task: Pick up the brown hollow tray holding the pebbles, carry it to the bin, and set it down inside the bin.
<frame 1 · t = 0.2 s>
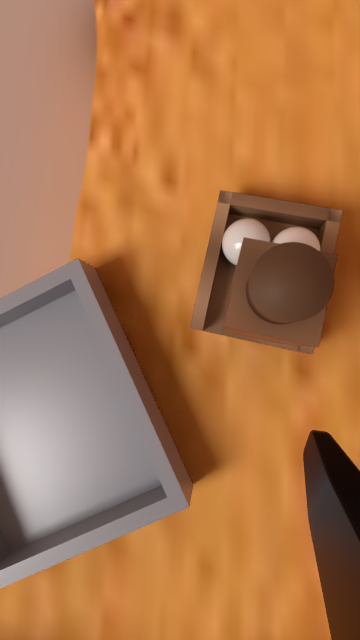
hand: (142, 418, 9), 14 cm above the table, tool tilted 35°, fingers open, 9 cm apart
pebble b: (245, 243, 20), point 3 cm above the table, touching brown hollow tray
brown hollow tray: (252, 312, 23), on the table, touching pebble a, pebble b
bin: (52, 415, 24), on the table
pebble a: (294, 251, 20), point 3 cm above the table, touching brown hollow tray
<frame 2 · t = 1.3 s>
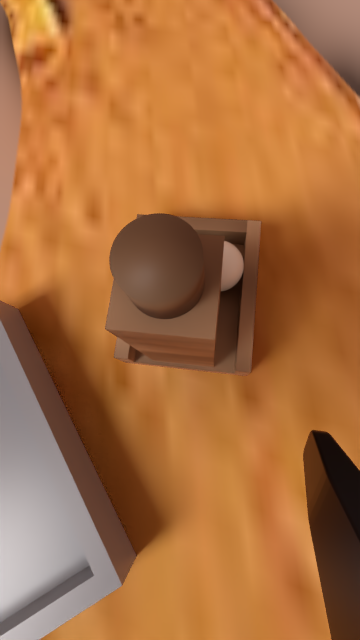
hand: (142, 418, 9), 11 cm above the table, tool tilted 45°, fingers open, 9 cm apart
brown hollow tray: (188, 338, 21), on the table, touching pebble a, pebble b
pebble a: (217, 266, 19), point 3 cm above the table, touching pebble b, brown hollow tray
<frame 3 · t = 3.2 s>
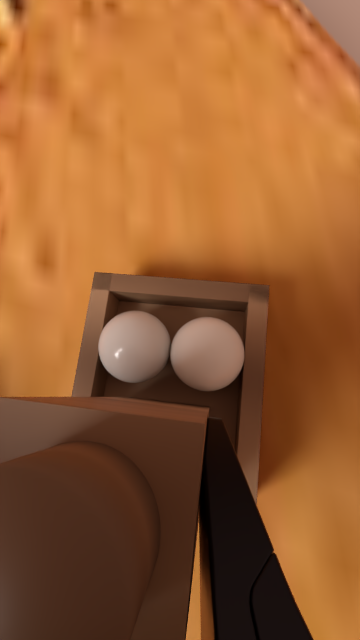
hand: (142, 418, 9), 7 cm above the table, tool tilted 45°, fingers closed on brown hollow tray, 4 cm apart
pebble b: (135, 346, 13), point 3 cm above the table, tilted 8°, touching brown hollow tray
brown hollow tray: (167, 440, 15), on the table, touching gripper, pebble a, pebble b
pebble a: (206, 353, 13), point 3 cm above the table, tilted 8°, touching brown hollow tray
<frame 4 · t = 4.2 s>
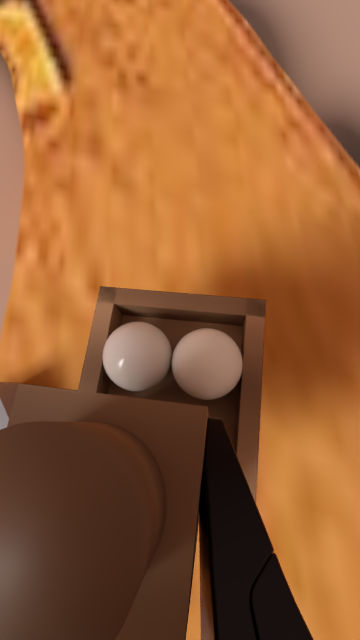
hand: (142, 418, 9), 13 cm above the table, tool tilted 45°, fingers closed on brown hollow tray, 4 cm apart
pebble b: (137, 356, 14), point 8 cm above the table, tilted 9°, touching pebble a, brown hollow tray
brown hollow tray: (167, 452, 15), point 6 cm above the table, tilted 5°, touching gripper, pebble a, pebble b
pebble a: (206, 363, 14), point 8 cm above the table, tilted 9°, touching pebble b, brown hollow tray
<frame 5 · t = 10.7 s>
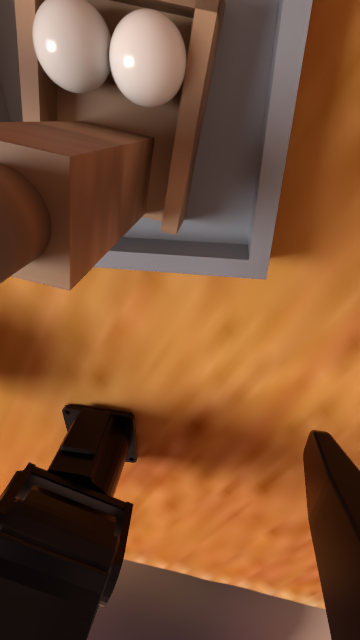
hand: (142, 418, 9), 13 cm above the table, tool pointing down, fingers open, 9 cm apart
pebble b: (74, 46, 13), point 3 cm above the table, tilted 18°, touching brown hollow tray
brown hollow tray: (122, 167, 17), point 1 cm above the table, touching bin, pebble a, pebble b
bin: (131, 83, 16), on the table
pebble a: (148, 61, 13), point 3 cm above the table, tilted 19°, touching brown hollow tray
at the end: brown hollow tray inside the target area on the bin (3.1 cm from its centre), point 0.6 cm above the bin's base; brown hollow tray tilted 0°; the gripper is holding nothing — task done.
